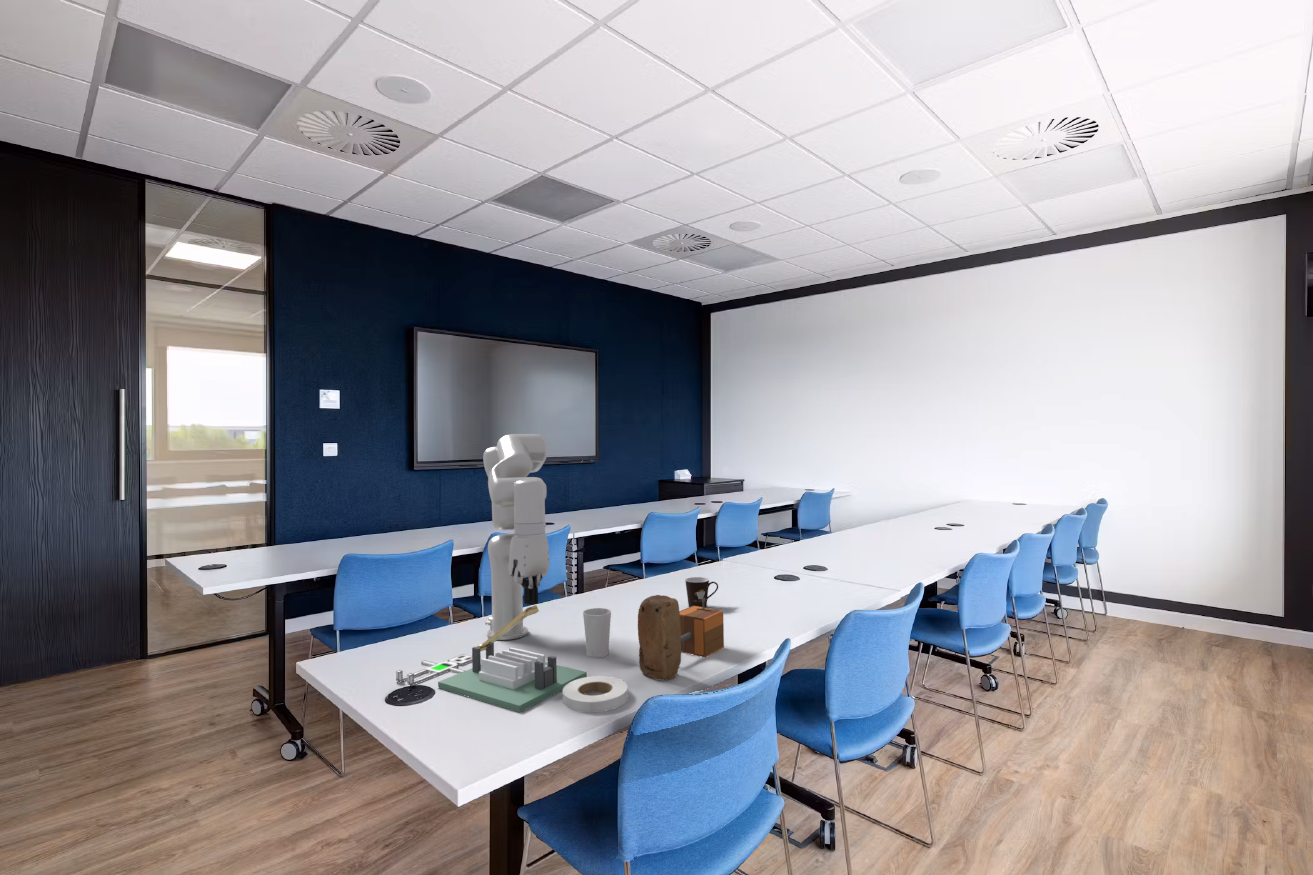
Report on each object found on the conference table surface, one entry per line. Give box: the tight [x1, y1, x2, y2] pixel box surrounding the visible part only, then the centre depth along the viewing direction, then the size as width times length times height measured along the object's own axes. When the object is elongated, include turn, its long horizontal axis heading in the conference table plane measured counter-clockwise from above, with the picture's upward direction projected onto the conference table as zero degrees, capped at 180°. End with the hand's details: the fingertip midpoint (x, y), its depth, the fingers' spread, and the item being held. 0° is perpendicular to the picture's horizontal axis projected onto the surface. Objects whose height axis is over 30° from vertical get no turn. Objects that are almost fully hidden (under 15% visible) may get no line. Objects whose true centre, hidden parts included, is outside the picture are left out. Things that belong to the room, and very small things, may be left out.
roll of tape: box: [562, 675, 629, 713], centre depth 151 cm, size 16×15×3 cm
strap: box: [476, 604, 540, 653], centre depth 163 cm, size 23×3×2 cm
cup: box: [582, 607, 612, 659], centre depth 182 cm, size 8×8×12 cm
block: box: [637, 594, 682, 681], centre depth 165 cm, size 11×8×20 cm
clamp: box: [679, 598, 725, 658], centre depth 181 cm, size 11×20×14 cm, turn 143°
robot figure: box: [395, 653, 472, 687], centre depth 171 cm, size 16×3×22 cm
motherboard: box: [437, 642, 588, 713], centre depth 161 cm, size 28×24×8 cm
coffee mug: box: [684, 576, 719, 608], centre depth 230 cm, size 12×9×10 cm
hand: (531, 603), depth 158 cm, fingers closed
